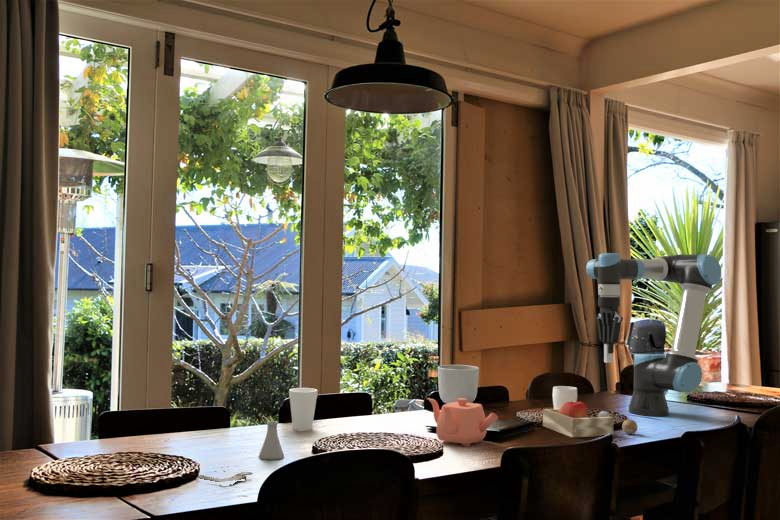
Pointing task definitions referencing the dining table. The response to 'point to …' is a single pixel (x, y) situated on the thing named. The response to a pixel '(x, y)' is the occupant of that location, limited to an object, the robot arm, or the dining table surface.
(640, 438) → the dining table surface
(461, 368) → the planter
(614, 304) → the robot arm
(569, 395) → the cup
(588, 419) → the beige shallow open box
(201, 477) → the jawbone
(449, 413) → the teapot
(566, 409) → the apple
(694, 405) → the dining table surface
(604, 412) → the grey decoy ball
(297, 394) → the foam cup
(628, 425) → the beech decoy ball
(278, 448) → the flask
